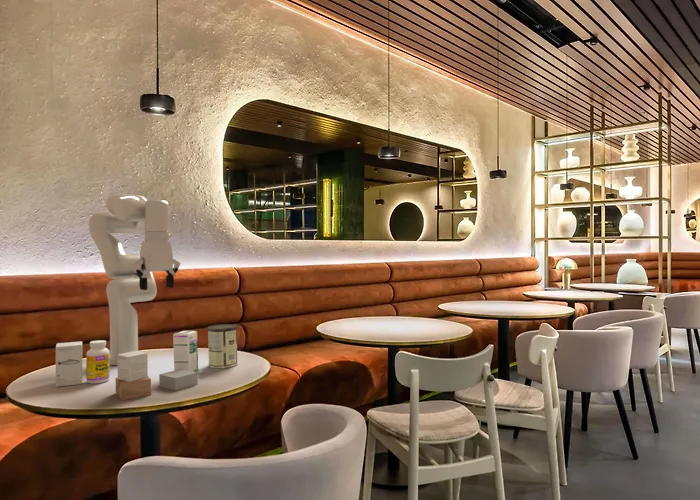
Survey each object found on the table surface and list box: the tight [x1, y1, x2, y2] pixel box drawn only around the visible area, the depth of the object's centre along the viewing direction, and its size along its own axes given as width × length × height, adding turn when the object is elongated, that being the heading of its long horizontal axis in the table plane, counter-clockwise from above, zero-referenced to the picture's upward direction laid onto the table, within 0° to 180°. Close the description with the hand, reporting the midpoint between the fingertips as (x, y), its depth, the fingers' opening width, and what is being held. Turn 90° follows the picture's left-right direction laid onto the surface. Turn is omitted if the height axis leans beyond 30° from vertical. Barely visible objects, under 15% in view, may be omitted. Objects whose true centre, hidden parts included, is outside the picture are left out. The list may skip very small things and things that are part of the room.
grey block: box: [158, 369, 199, 391], centre depth 152 cm, size 8×8×4 cm
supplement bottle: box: [85, 339, 111, 384], centre depth 157 cm, size 7×7×13 cm
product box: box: [116, 350, 149, 382], centre depth 143 cm, size 6×6×7 cm
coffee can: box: [207, 323, 238, 369], centre depth 177 cm, size 10×10×14 cm
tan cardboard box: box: [114, 376, 152, 401], centre depth 143 cm, size 8×8×5 cm
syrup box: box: [172, 330, 199, 373], centre depth 164 cm, size 6×6×14 cm
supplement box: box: [55, 341, 83, 388], centre depth 155 cm, size 7×7×13 cm
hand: (157, 288), depth 163 cm, fingers open, 9 cm apart
